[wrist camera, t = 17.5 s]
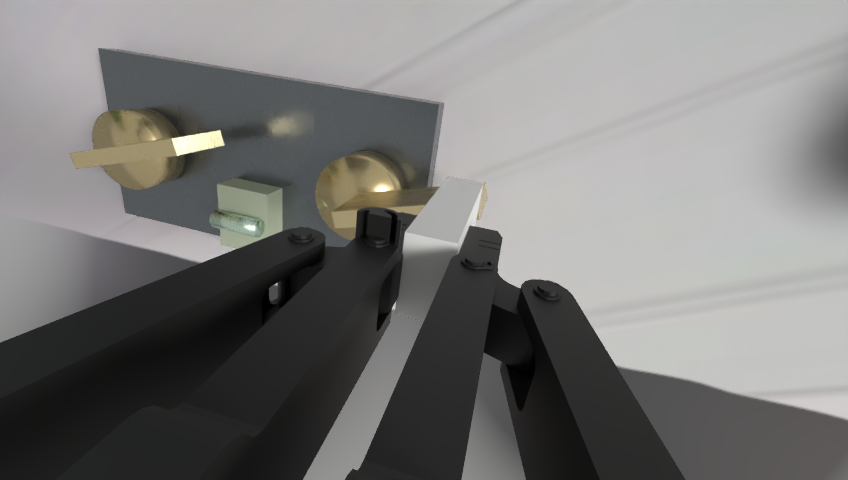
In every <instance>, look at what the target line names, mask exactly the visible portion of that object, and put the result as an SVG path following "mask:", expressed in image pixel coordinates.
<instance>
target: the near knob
mask: <svg viewBox="0 0 848 480" xmlns="http://www.w3.org/2000/svg"><path fill="white" fill-rule="evenodd" d="M439 188H440V186H438V187H426V188H414V189H407V186H406V182H405V179H404V177H403V175H402V173H401V171H400V170H399V168H398V167H397V166H396V165H395V164H394V163H393V162H392V161H391V160H390V159H388V158H387V157H385V156H384V155H382V154H379V153H377V152H373V151H358V152H354V153H351V154H349V155H347V156H344V157H342V158H339V159H337V160H335V161H333V162H331V163H330V164H329V165H327V166H326V167H325V168H324V169H323V171H322V172H321V174H320V176H319V177H318V180H317V183H316V188H315V199H316V204H317V208H318V211H319V213H320V215H321V217H322V219H323V220H324V221H325V223H326V224H327V225H328V226H329V227H330V228H331V229H332V230H333V231H334V232H335V233H337V234H338V235H340V236H342V237H344V238H346V239H349V240H353V239H354V238H355V234H356V219H357V211H358V210H360V209H362V208H367V207H381V208H387V209H391V210H394V211H396V212H398V213H400V212H404V213H409V214H413V215H418V214H419V213H420V212H421V211H422V209H423V208H424V207H425V206H426V204H427V203H428V202H429V200H430V199H431V198H432V197H433V195H434V194H435V193H436V191H437V190H438V189H439ZM486 201H487V189H486V182H485V183H483V188H482V193H481V198H480V204H479V209H478V214H477V219H476V220H479V219H480V216H481V214H482V211H483V209H484V206H485V203H486Z"/></svg>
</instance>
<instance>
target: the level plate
mask: <svg viewBox="0 0 848 480" xmlns="http://www.w3.org/2000/svg"><path fill="white" fill-rule="evenodd" d="M98 49H99V55H100V61H101V67H102V73H103V79H104V85H105V91H106V97H107V104H108V110H109V111H114V110H126V109H139V108H148V109H152V110H155V111H157V112H159V113H161V114H162V115H164V116H165V117H166V118H167V119H168V120H169V121H170V122H171V123H172V124H173V125H174V127H175V128H176V130H177V131H178V133H179V135H180V136H186V135H192V134H199V133H206V132H213V131H219V130H220V131H221V135H222V138H223V141H224V145H223V146H219V147H214V148H210V149H205V150H201V151H196V152H192V153H187V154H185V164H184V168H183V170H182V172H181V174H180V175H179V176H178V177H177V178H176V179H174V180H172V181H170V182H166V183H163V184H159V185H156V186H152V187H149V188H145V189H141V190H134V189H129V188H127V187H124V186H122V185H121V188H122V194H123V200H124V206H125V212H126V213H129V214H133V215H137V216H141V217H145V218H149V219H153V220H157V221H161V222H165V223H169V224H174V225H178V226H182V227H186V228H190V229H194V230H198V231H202V232H206V233H210V234H214V235H218V236H221V245H225V246H229V247H233V248H237V249H238V248H241V247H243V246H246V245H248V244H251V243H253V242H256V241H258V240H261V239H264V238H266V237H269V236H271V235H274V234H276V233H279V232H281V231H284V230H287V229H291V228H298V227H305V228H306V227H308V228H311V229H314V230H318V231H320V232H322V233H323V234H324V235H325V237H326V245H325V246H333V247H346V246H347V245H348V244H349V243H350V242H351V241H352V240H349V239H346V238H344V237H342V236H340V235H338V234H337V233H335V232H334V231H333V230H332V229H331V228H330V227H329V226H328V225H327V224H326V223H325V221H324V220H323V219H322V217H321V215H320V213H319V211H318V208H317V204H316V199H315V188H316V183H317V180H318V177H319V176H320V174H321V172H322V171H323V169H324V168H325V167H326V166H327V165H329V164H330V163H331V162H333V161H335V160H337V159H339V158H342V157H344V156H347V155H349V154H351V153H354V152H358V151H373V152H377V153H379V154H382V155H384V156H385V157H387V158H388V159H390V160H391V161H392V162H393V163H394V164H395V165H396V166H397V167H398V168H399V170H400V171H401V173H402V175H403V177H404V179H405V182H406V186H407V189H414V188H426V187H432V182H433V175H434V169H435V162H436V155H437V148H438V141H439V135H440V128H441V121H442V114H443V108H444V103H441V102H434V101H428V100H422V99H416V98H410V97H404V96H398V95H392V94H386V93H380V92H374V91H368V90H361V89H355V88H349V87H343V86H337V85H331V84H325V83H319V82H313V81H307V80H301V79H295V78H288V77H282V76H276V75H270V74H264V73H258V72H252V71H246V70H240V69H234V68H228V67H222V66H216V65H209V64H203V63H197V62H191V61H185V60H179V59H173V58H167V57H161V56H155V55H149V54H143V53H136V52H130V51H124V50H118V49H103V48H98Z"/></svg>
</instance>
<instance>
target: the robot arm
mask: <svg viewBox="0 0 848 480" xmlns="http://www.w3.org/2000/svg"><path fill="white" fill-rule="evenodd" d="M482 188H483V183H480V182H475V181H470V180H465V179H460V178H455V177H449V176H448V177H447V179H446V180H445V181H444V182H443V184H442V185H441V186H440V188H439V189H438V190H437V191H436V193H435V194H434V195H433V197H432V198H431V199H430V200H429V202H428V203H427V204H426V206H425V207H424V208H423V209H422V211H421V212H420V213H419V214H418V215H413V214H409V213H404V212H400V213H398V212H396V211H394V210H391V209H387V208H381V207H367V208H362V209H360V210H358V211H357V219H356V234H355V238H354V239H353V240H352V241H351V242H350V243H349V244H348V245H347V246H346V247H333V246H325V245H326V237H325V235H324V234H323V233H322V232H320V231H318V230H314V229H311V228H308V227H306V228H305V227H298V228H291V229H287V230H284V231H281V232H279V233H276V234H274V235H271V236H269V237H266V238H264V239H261V240H258V241H256V242H253V243H251V244H248V245H246V246H243V247H241V248H238V249H236V250H233V251H231V252H228V253H226V254H223V255H221V256H218V257H216V258H213V259H210V260H208V261H205V262H203V263H200V264H198V265H196V266H193V267H190V268H188V269H185V270H183V271H180V272H178V273H176V274H173V275H170V276H168V277H165V278H163V279H160V280H158V281H155V282H153V283H150V284H147V285H145V286H142V287H140V288H137V289H135V290H132V291H130V292H127V293H125V294H122V295H120V296H117V297H115V298H112V299H109V300H107V301H104V302H102V303H99V304H97V305H94V306H92V307H89V308H87V309H84V310H82V311H79V312H77V313H74V314H72V315H69V316H67V317H64V318H62V319H59V320H56V321H54V322H51V323H49V324H46V325H44V326H41V327H39V328H36V329H34V330H31V331H29V332H26V333H24V334H21V335H19V336H16V337H14V338H11V339H9V340H6V341H3V342H1V343H0V480H303V478H304V476H305V475H306V473H307V470H308V469H309V467H310V466H311V464H312V462H313V460H314V458H315V457H316V455H317V453H318V451H319V449H320V447H321V446H322V444H323V442H324V440H325V438H326V437H327V435H328V433H329V431H330V429H331V428H332V426H333V424H334V422H335V421H336V419H337V417H338V415H339V413H340V411H341V410H342V408H343V406H344V404H345V402H346V401H347V399H348V397H349V395H350V393H351V392H352V390H353V388H354V386H355V384H356V383H357V381H358V379H359V377H360V375H361V374H362V372H363V370H364V368H365V366H366V364H367V363H368V361H369V359H370V357H371V356H372V354H373V352H374V350H375V348H376V347H377V345H378V343H379V341H380V339H381V337H382V336H383V334H384V332H385V330H386V328H387V327H388V325H389V323H390V318H391V311H392V307H393V305H394V303H395V302H396V309H395V314H397V315H401V316H405V317H408V318H413V319H416V320H420V321H424V322H423V325H422V327H421V329H420V332H419V334H418V336H417V338H416V341H415V343H414V345H413V348H412V350H411V352H410V355H409V357H408V359H407V361H406V364H405V366H404V369H403V371H402V373H401V376H400V378H399V380H398V382H397V385H396V387H395V389H394V391H393V394H392V396H391V398H390V401H389V403H388V406H387V408H386V410H385V412H384V415H383V417H382V419H381V421H380V424H379V426H378V428H377V431H376V433H375V435H374V438H373V440H372V442H371V445H370V447H369V449H368V451H367V454H366V456H365V459H364V461H363V463H362V465H361V467H360V468H359V470H358V471H357V470H354V469H352V471H351V472H350V473H349V474H348V475H347V477H346V479H345V480H461V478H462V473H463V466H464V461H465V455H466V450H467V444H468V438H469V432H470V427H471V421H472V415H473V409H474V404H475V398H476V392H477V387H478V381H479V375H480V369H481V363H482V358H483V352H484V353H486V354H488V355H490V356H492V357H494V358H496V359H498V360H500V361H501V365H500V372H501V376H502V380H503V384H504V389H505V393H506V397H507V401H508V406H509V409H510V414H511V418H512V422H513V427H514V431H515V435H516V439H517V443H518V448H519V452H520V456H521V460H522V465H523V469H524V473H525V477H526V480H685V478H684V477H683V475H682V473H681V472H680V470H679V468H678V467H677V465H676V463H675V462H674V460H673V459H672V457H671V456H670V454H669V452H668V450H667V449H666V447H665V446H664V444H663V442H662V441H661V439H660V437H659V436H658V434H657V432H656V431H655V429H654V428H653V426H652V425H651V423H650V421H649V419H648V418H647V416H646V415H645V413H644V411H643V410H642V408H641V406H640V405H639V403H638V401H637V400H636V399H635V397H634V395H633V393H632V392H631V390H630V388H629V387H628V385H627V383H626V382H625V380H624V379H623V377H622V375H621V374H620V372H619V370H618V369H617V367H616V365H615V364H614V362H613V360H612V359H611V357H610V356H609V354H608V352H607V351H606V349H605V347H604V346H603V344H602V342H601V341H600V339H599V338H598V336H597V334H596V333H595V331H594V329H593V328H592V326H591V324H590V323H589V321H588V320H587V318H586V316H585V315H584V313H583V311H582V310H581V308H580V306H579V305H578V303H577V302H576V300H575V298H574V297H573V295H572V294H571V293H570V292H569V291H568V290H567V289H565V288H563V287H562V286H560V285H559V284H557V283H553V282H552V281H548V280H547V281H545V280H528V281H525V282H524V283H523V284H522V286H521V289H520V288H518V287H515V286H513V285H511V284H509V283H507V282H506V281H504V280H503V279H502V278H501V277H500V276H499V274H498V273H497V272H498V267H497V266H498V261H499V255H500V249H501V243H502V237H501V235H500V234H499V233H498V231H494V230H489V229H484V228H480V227H475V224H476V219H477V214H478V209H479V204H480V198H481V193H482ZM276 283H278V298H277V299H275V300H273V301H270V300H269V288H270V287H271V286H272V285H274V284H276Z"/></svg>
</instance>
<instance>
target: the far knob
mask: <svg viewBox="0 0 848 480" xmlns="http://www.w3.org/2000/svg"><path fill="white" fill-rule="evenodd" d="M92 139H93V146H94V150H88V151H82V152H76V153H70V156H71V159H72V161H73V163H74V166H75V168H76V169H79V168H87V167H95V166H102V167H103V168H104V170H105V171H106V172H107V174H108V175H109V176H110V177H111V178H112V179H114V180H115V181H116V182H117V183H119V184H120V185H122V186H124V187H127V188H129V189H134V190H141V189H145V188H149V187H152V186H156V185H159V184H163V183H166V182H170V181H172V180H174V179H176V178H177V177H178V176H179V175H180V174H181V172H182V170H183V168H184V164H185V154H187V153H192V152H196V151H201V150H205V149H210V148H214V147H219V146H223V145H224V141H223V138H222V135H221V131H220V130H219V131H213V132H206V133H199V134H192V135H186V136H180V135H179V133H178V131H177V130H176V128H175V127H174V125H173V124H172V123H171V122H170V121H169V120H168V119H167V118H166V117H165V116H164V115H162V114H161V113H159V112H157V111H155V110H152V109H148V108H139V109H126V110H114V111H108V112H105V113H103V114H102V115H100V116H99V117H98V119H97V120H96V122H95V124H94V127H93V134H92Z"/></svg>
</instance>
